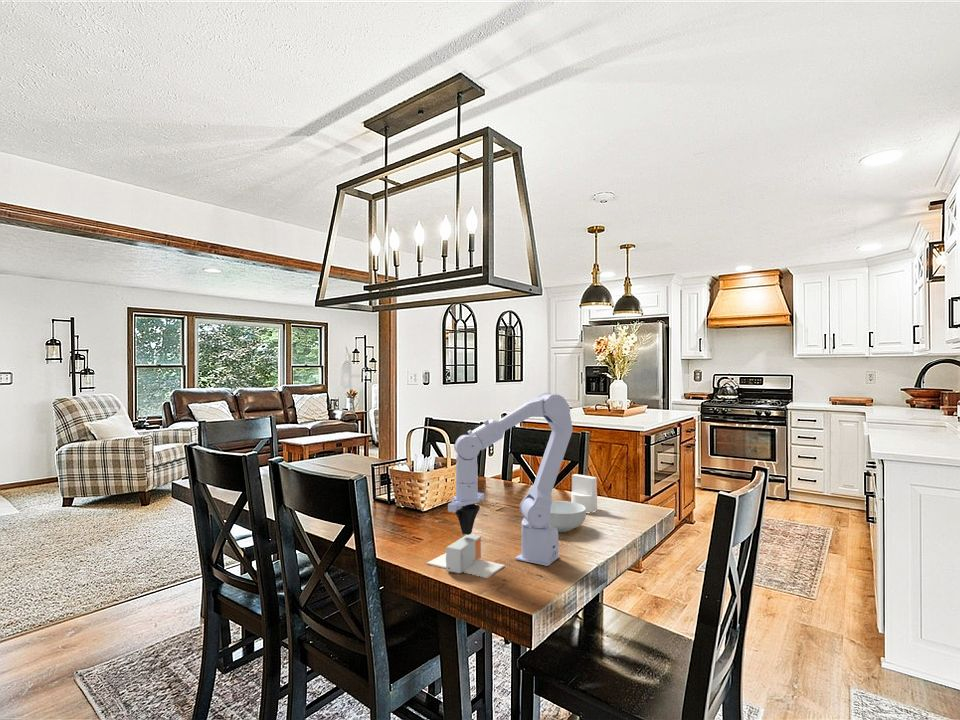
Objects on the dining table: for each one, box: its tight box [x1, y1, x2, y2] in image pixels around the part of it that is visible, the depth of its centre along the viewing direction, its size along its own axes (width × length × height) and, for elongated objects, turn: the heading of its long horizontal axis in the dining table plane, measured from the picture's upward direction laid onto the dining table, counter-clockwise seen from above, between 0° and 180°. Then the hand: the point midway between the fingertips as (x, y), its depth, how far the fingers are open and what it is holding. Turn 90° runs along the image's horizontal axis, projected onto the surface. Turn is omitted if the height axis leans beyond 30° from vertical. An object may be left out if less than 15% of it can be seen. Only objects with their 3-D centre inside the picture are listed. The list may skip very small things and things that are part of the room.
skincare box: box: [445, 533, 482, 574], centre depth 139 cm, size 6×4×12 cm
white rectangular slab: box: [426, 552, 506, 579], centre depth 140 cm, size 18×9×1 cm, turn 59°
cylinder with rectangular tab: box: [570, 473, 598, 512], centre depth 193 cm, size 9×9×12 cm
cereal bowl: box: [549, 500, 587, 533], centre depth 172 cm, size 17×17×7 cm
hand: (466, 533), depth 142 cm, fingers closed
